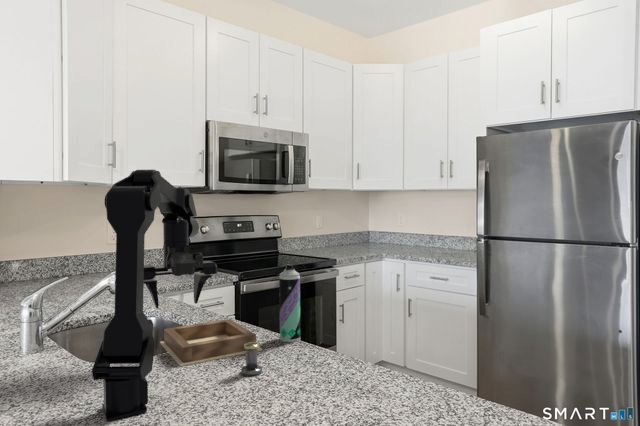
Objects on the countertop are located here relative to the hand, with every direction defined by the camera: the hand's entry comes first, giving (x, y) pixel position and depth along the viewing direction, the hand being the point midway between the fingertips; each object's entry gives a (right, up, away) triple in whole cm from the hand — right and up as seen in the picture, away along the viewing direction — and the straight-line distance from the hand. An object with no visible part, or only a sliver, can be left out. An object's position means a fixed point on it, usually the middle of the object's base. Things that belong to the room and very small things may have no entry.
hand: (176, 305), depth 108 cm
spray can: (+27, -12, +11) cm, 31 cm away
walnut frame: (+6, -11, +5) cm, 14 cm away
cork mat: (+7, -12, +6) cm, 14 cm away
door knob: (+20, -12, -12) cm, 26 cm away
